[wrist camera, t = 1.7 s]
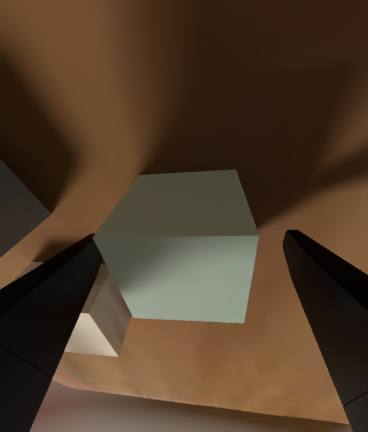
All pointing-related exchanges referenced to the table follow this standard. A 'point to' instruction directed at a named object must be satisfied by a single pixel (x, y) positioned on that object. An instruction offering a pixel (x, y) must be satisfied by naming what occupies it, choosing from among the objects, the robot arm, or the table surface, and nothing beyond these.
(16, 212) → the grey block
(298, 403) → the table surface
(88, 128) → the table surface
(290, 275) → the robot arm
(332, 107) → the table surface
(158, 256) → the sage block
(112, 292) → the birch slab
